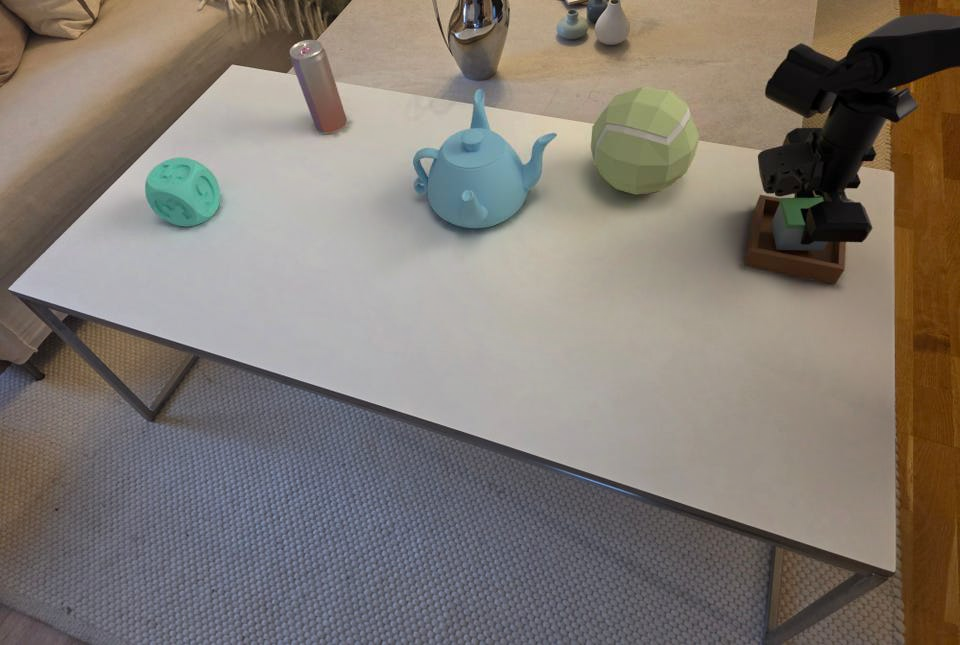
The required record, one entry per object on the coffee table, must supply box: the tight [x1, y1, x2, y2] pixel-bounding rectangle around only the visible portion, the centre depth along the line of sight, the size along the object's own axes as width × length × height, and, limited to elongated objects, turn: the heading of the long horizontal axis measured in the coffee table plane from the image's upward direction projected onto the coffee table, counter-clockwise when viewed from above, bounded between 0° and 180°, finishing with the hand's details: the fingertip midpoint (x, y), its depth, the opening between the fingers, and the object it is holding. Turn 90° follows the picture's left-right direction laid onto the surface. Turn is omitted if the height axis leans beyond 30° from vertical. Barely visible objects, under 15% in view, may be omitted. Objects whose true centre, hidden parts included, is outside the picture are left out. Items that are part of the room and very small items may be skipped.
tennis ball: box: [590, 86, 700, 196], centre depth 88 cm, size 15×15×15 cm
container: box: [771, 197, 828, 251], centre depth 80 cm, size 6×5×5 cm
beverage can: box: [289, 39, 347, 135], centre depth 104 cm, size 6×6×15 cm
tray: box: [744, 194, 847, 285], centre depth 82 cm, size 12×12×3 cm
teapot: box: [412, 88, 558, 229], centre depth 89 cm, size 17×19×12 cm
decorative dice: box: [144, 156, 221, 227], centre depth 96 cm, size 8×8×8 cm
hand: (800, 229), depth 81 cm, fingers closed on container, 5 cm apart
